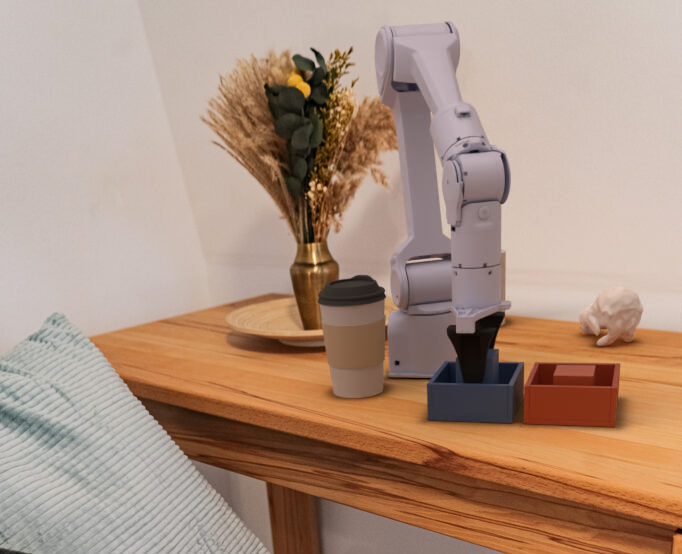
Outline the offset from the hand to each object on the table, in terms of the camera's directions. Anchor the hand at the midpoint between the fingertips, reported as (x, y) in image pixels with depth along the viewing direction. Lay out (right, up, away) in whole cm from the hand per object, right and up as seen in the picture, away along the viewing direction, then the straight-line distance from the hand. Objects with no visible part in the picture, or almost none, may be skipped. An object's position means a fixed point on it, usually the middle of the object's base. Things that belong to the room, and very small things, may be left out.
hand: (476, 378), depth 103 cm
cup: (+8, +16, +43) cm, 47 cm away
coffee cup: (-14, 0, +12) cm, 19 cm away
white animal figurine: (+24, +10, +27) cm, 38 cm away
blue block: (0, -1, +1) cm, 1 cm away
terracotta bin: (+11, -4, -2) cm, 12 cm away
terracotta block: (+11, -4, -2) cm, 12 cm away
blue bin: (0, -4, +2) cm, 4 cm away
